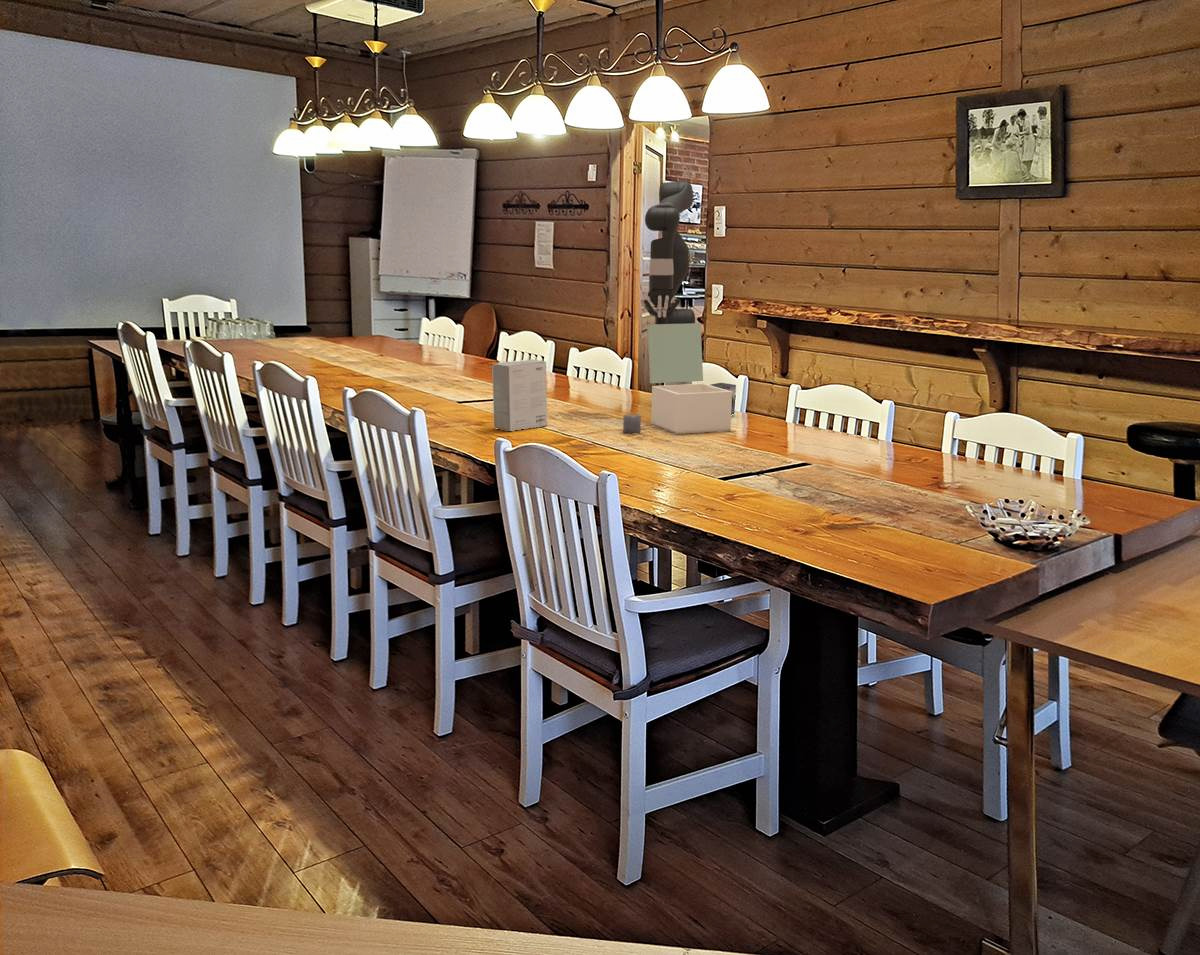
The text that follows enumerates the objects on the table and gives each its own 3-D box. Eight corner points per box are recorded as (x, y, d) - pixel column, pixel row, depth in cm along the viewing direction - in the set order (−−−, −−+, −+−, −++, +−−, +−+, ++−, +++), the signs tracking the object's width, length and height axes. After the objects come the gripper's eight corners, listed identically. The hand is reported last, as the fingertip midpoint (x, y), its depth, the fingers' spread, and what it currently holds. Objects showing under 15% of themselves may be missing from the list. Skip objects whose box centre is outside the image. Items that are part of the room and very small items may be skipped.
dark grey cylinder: (620, 431, 318) (620, 414, 317) (636, 430, 320) (636, 413, 318) (627, 434, 313) (627, 417, 312) (643, 433, 315) (643, 416, 314)
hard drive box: (531, 423, 330) (531, 359, 325) (548, 426, 324) (547, 361, 320) (492, 429, 319) (491, 362, 315) (508, 432, 314) (508, 365, 309)
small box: (719, 420, 339) (720, 387, 336) (701, 417, 343) (702, 385, 340) (735, 415, 347) (737, 383, 345) (718, 413, 351) (719, 382, 348)
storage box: (651, 424, 329) (652, 386, 327) (702, 421, 336) (704, 383, 333) (676, 434, 313) (678, 394, 310) (730, 431, 320) (732, 391, 317)
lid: (651, 383, 327) (649, 383, 328) (703, 380, 334) (701, 380, 335) (648, 324, 326) (646, 324, 327) (700, 323, 333) (698, 323, 333)
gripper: (675, 272, 337) (673, 327, 340) (637, 273, 332) (636, 328, 336) (685, 273, 330) (684, 329, 334) (647, 274, 325) (645, 330, 329)
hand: (660, 329), depth 335 cm, fingers closed
